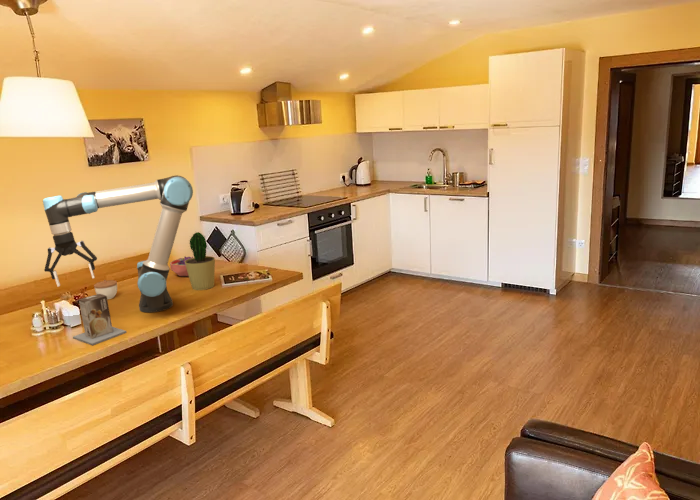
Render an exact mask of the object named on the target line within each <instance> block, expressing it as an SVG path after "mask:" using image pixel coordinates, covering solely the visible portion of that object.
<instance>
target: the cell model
mask: <svg viewBox="0 0 700 500" xmlns="http://www.w3.org/2000/svg"><path fill="white" fill-rule="evenodd" d="M190 258H194V256H184V258H183V257H179V258H177V259H174V260H172V261H170V262H169V268H170V270H171V271H173V273H175V274H176V275H178V277H189V275H188V272H187V268H186V265H185V261H186V260H188V259H190Z"/></svg>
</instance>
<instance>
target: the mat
mask: <svg viewBox="0 0 700 500" xmlns="http://www.w3.org/2000/svg"><path fill="white" fill-rule="evenodd" d="M112 328H113V332H111V333H108V334H105V335H102V336H99V337H96V338H93V339H91V338H89V337H87V336H86V335H85V331H84V332H82V333H80V334H77V335H74V336H72V339H73V340H76V341H79V342H82V343H83V344H88V345H90V346H94V345H95V346H96V345H98V344H100V343H103V342H106V341H108V340H111V339H114V338H116V337H119V336H121V335H124V334H127V330H124V329H122V328H118V327H116V326H112Z"/></svg>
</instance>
